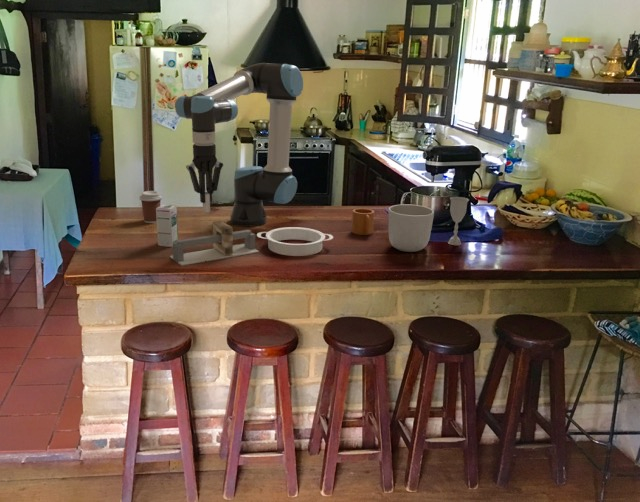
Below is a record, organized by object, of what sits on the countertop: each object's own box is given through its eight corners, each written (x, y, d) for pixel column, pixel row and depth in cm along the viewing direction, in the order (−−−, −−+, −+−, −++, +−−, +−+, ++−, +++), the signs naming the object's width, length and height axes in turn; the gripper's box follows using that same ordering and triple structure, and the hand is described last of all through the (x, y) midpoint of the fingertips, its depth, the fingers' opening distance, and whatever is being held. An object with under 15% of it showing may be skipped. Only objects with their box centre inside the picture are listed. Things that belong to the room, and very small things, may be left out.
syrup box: (172, 247, 236) (170, 209, 231) (157, 245, 237) (155, 207, 233) (178, 242, 241) (177, 205, 237) (163, 241, 242) (162, 203, 238)
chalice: (465, 242, 255) (470, 198, 250) (461, 247, 249) (466, 202, 244) (447, 239, 258) (452, 195, 252) (443, 244, 252) (447, 199, 247)
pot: (254, 256, 231) (254, 243, 230) (258, 237, 252) (258, 225, 251) (333, 258, 232) (334, 246, 230) (331, 240, 253) (332, 228, 251)
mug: (353, 237, 256) (354, 215, 254) (350, 229, 268) (351, 208, 265) (375, 237, 257) (376, 215, 254) (372, 229, 268) (373, 208, 265)
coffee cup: (161, 217, 273) (159, 189, 269) (165, 223, 265) (164, 194, 261) (138, 218, 269) (137, 190, 266) (142, 224, 262) (141, 196, 258)
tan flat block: (220, 245, 236) (220, 220, 233) (232, 253, 228) (232, 227, 225) (213, 247, 234) (212, 221, 231) (225, 254, 227) (224, 228, 224)
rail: (245, 244, 242) (245, 226, 240) (258, 252, 234) (259, 233, 232) (170, 257, 226) (169, 237, 223) (181, 265, 218) (180, 245, 216)
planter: (439, 250, 245) (443, 211, 240) (409, 258, 234) (413, 218, 229) (406, 239, 257) (409, 202, 252) (376, 246, 246) (379, 208, 241)
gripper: (190, 147, 209) (193, 216, 217) (226, 143, 216) (228, 211, 224) (181, 143, 215) (184, 211, 223) (216, 140, 222) (218, 206, 230)
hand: (206, 211), depth 223 cm, fingers closed
